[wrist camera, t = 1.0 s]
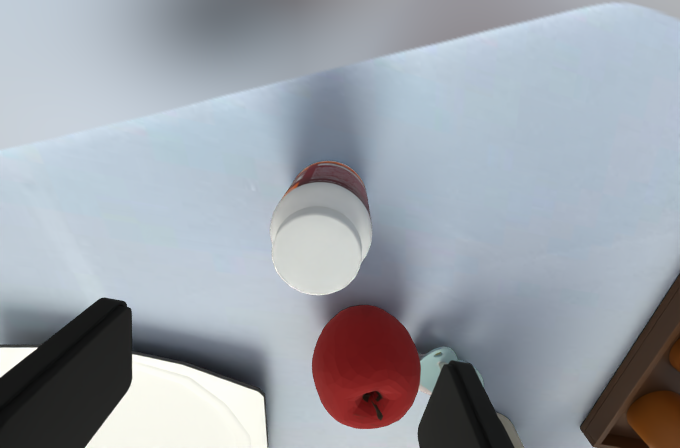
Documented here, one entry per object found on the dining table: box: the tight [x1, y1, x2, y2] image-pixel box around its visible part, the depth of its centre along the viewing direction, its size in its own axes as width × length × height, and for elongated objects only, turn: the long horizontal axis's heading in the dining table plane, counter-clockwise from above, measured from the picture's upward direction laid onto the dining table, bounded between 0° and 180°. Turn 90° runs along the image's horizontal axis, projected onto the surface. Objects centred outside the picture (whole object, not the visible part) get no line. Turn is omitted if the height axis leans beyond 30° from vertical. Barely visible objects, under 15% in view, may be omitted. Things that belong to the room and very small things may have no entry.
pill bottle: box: [270, 161, 372, 295], centre depth 22 cm, size 6×6×11 cm
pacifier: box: [418, 347, 484, 395], centre depth 30 cm, size 7×6×6 cm
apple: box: [312, 305, 421, 429], centre depth 27 cm, size 9×9×10 cm
